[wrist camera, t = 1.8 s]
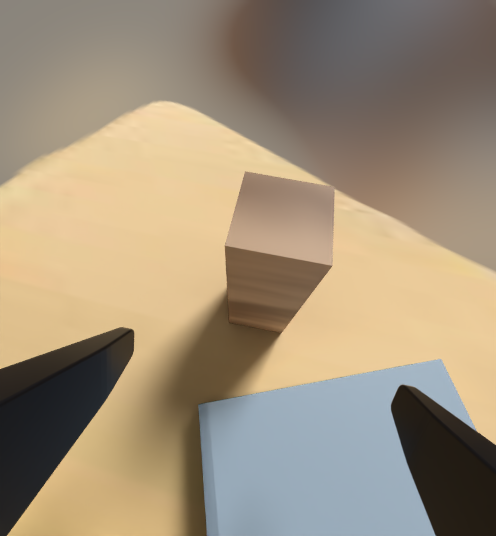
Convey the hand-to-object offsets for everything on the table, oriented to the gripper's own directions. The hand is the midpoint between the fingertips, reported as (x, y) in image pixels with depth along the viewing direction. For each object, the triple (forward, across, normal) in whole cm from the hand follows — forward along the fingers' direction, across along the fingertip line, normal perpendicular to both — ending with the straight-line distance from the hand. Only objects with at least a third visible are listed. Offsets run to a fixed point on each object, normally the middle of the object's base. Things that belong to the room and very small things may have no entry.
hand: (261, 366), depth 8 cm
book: (+5, -7, +12) cm, 15 cm away
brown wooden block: (+13, 0, +4) cm, 14 cm away
